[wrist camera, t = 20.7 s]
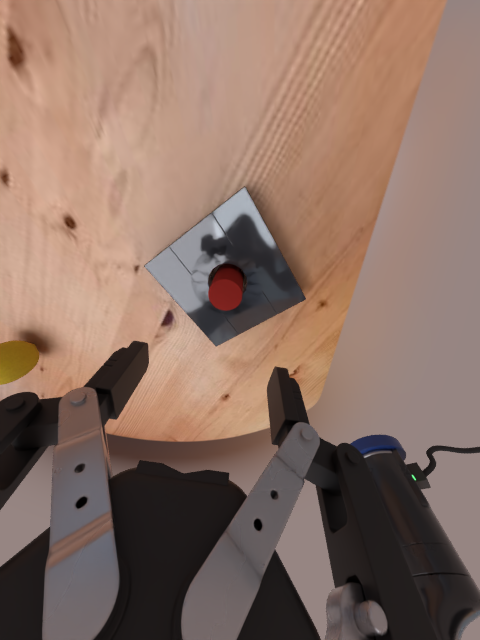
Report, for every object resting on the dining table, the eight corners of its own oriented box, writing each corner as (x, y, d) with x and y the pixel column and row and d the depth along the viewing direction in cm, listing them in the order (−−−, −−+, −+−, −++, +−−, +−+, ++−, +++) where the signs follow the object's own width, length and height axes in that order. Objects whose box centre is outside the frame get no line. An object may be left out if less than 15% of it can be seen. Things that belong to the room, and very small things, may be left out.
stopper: (233, 257, 25) (229, 272, 20) (248, 280, 27) (248, 300, 21) (210, 272, 26) (201, 290, 21) (226, 294, 28) (221, 316, 22)
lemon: (26, 356, 35) (-29, 394, 28) (8, 329, 32) (-57, 365, 25) (57, 358, 35) (11, 397, 28) (43, 331, 32) (-13, 368, 25)
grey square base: (245, 187, 21) (244, 185, 19) (301, 291, 27) (306, 299, 25) (152, 260, 26) (143, 266, 23) (218, 336, 31) (216, 346, 29)
